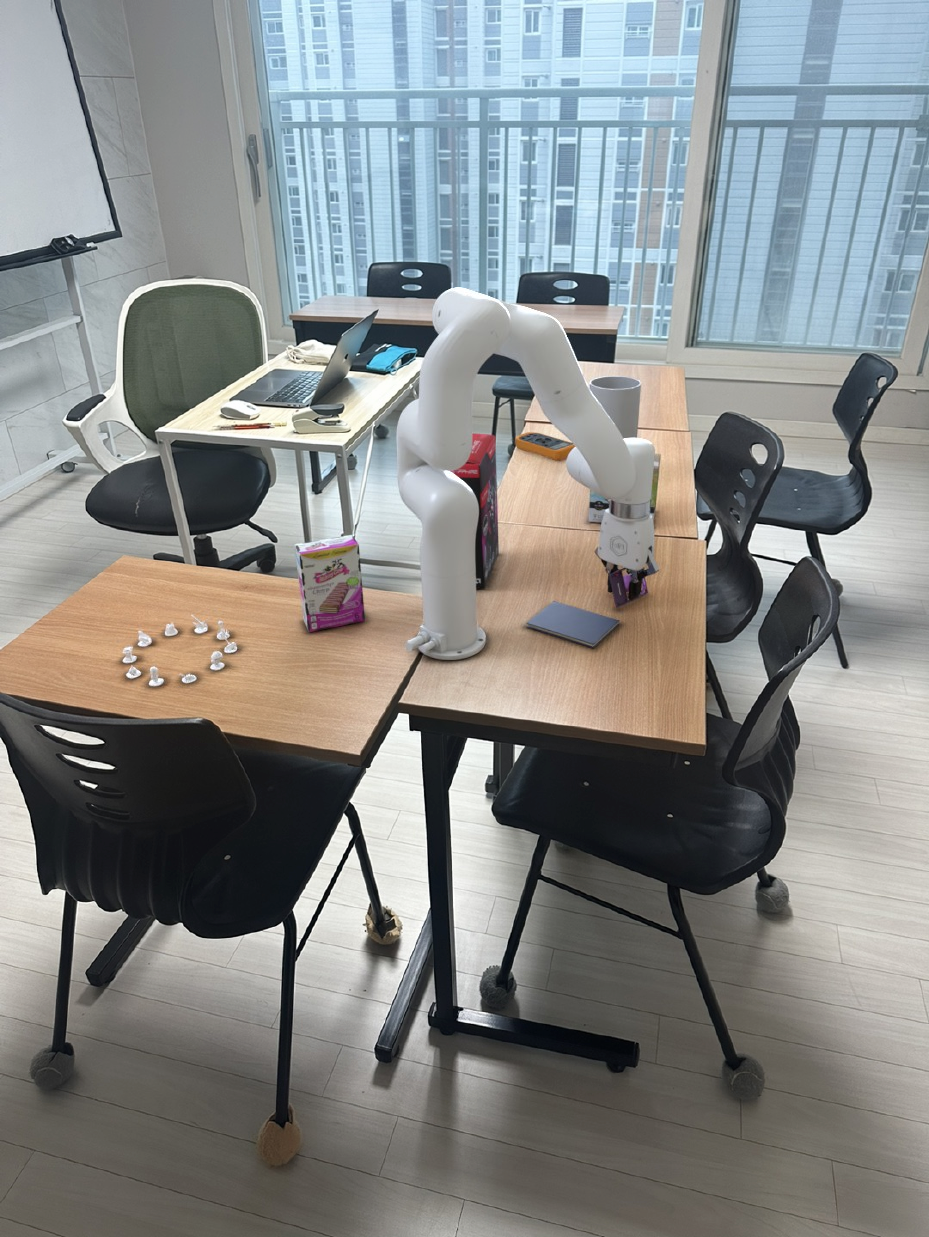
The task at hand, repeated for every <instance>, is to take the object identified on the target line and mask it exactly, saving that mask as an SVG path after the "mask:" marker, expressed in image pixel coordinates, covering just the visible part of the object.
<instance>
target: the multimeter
mask: <svg viewBox="0 0 929 1237" xmlns="http://www.w3.org/2000/svg"><path fill="white" fill-rule="evenodd" d="M514 442H515V443H514V444H515V448H517V449H519V450H522V451H525V452H529V453H532V454H536V455H539V456H543V457H545V458H548V459H550V460H553V461H556V462H558V461H563V460H565V459H567V457H568V455H569V453H570V452H571V450H572V449H573V448H575V447H576V446H575V445H574V444H573V443H572V442H571V441H567V440H564V439H561V438H557V437H553V436H550V435H547V434H544V433H541V432H537V431H529V432H524V433H522V434H519V435H517V436H515V441H514Z"/></svg>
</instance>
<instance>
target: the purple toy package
mask: <svg viewBox="0 0 929 1237" xmlns="http://www.w3.org/2000/svg"><path fill="white" fill-rule="evenodd" d="M619 569H620V570H618V571H616V572H613V573H611V574H609V578H610V583H611V587H612V593H611V595H612V596H613V601H614V606H615V608H616V609H619V608H621V607H623V606H625V605H627V604H629V603H631V602H633V601H636V600H637V599H639V598H642V597H643V596H646V595H647V594H649V591H648V586H647V581H646V577H645V578H643V579H642V589H641V594H640V595H639V596H638V597H637V598H635V599H633V600H632V601H631V600H629V599H628V593H629V582H630V581H632V574H631V569H627V568H624V567H622V568H619ZM625 570H626V571H625ZM623 571H625V572H626V574H623Z"/></svg>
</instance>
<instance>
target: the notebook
mask: <svg viewBox="0 0 929 1237" xmlns="http://www.w3.org/2000/svg"><path fill="white" fill-rule="evenodd" d="M619 622H620V620H619V619H617V618H612V617H609V616H606V615H603V614H599V613H596V612H592V611H589V610H586V609H582V608H579V607H576V606H572V605H568V604H565V603H562V602H558V601H555V600H553V601H552V602H551V603H549V604H548V605H546V606H545V607H544V608H543V609H542V610H541V611H539V612H538V613H537V614H535V615H534V616H533V617H531V619H529V620H528V621H527V622H525V624H527V625H526V627H525V628H527V629H529V630H530V629H531V630H533V631H537V632H539V633H543V634H546V635H549V636H552V637H556V638H558V639H562V640H565V641H567V642H571V643H574V644H577V645H581V646H584V647H587V648H590V649H595V648H596V647H597V646H598V645H599V644H600V643H602V642H603V641H604V639H607V637H608V636H609V635H610V634H611V633H613V632H614V630H616V629H617V628H618V627H619V626H620V624H619Z"/></svg>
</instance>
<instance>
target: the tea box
mask: <svg viewBox="0 0 929 1237" xmlns="http://www.w3.org/2000/svg"><path fill="white" fill-rule="evenodd" d="M661 458H662V454H661V453H655V457H654V469H653V481H652V493H651V507H650V514H651V515H652V516H653V522H655V521H654V520H655V514H656V506H657V500H658V499H657V498H658V488H659V478H660V477H659V476H660V467H661ZM608 508H609V502H608V501H605V498H604V497H602V496H600V495H599V494H597V493H596V492H594V491H592V490H591V489H589V502H588V523H602V520H603V516H604V513H605V510H606V509H608Z"/></svg>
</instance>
